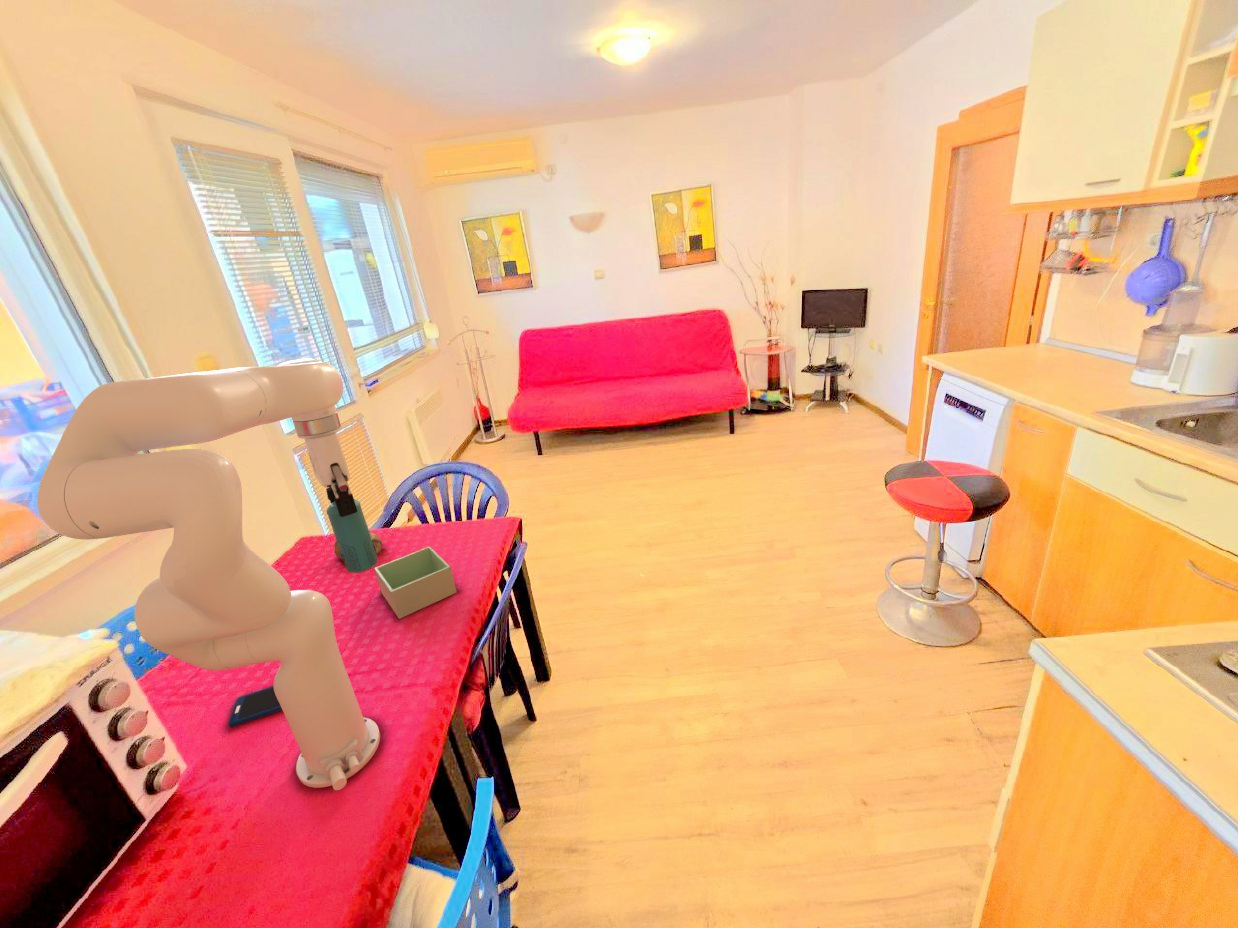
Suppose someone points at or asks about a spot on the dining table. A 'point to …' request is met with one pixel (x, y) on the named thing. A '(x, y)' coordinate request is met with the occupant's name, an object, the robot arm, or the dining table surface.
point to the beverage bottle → (352, 537)
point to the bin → (415, 581)
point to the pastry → (374, 537)
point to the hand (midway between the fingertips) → (344, 508)
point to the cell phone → (254, 706)
